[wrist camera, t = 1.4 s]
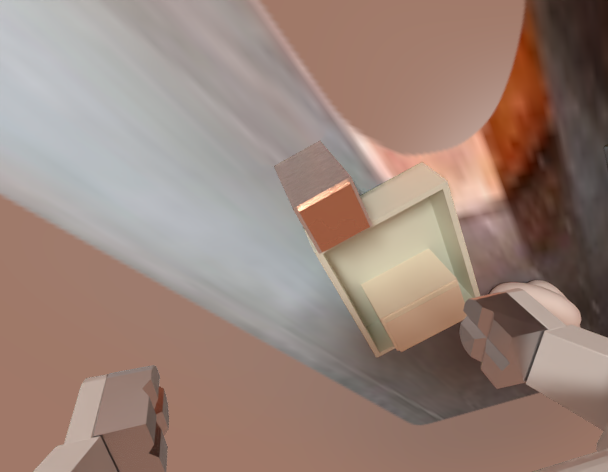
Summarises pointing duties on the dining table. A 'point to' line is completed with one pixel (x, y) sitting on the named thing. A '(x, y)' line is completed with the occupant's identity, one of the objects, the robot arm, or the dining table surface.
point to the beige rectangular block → (416, 299)
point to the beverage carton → (606, 153)
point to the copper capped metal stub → (323, 196)
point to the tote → (398, 244)
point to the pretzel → (547, 299)
